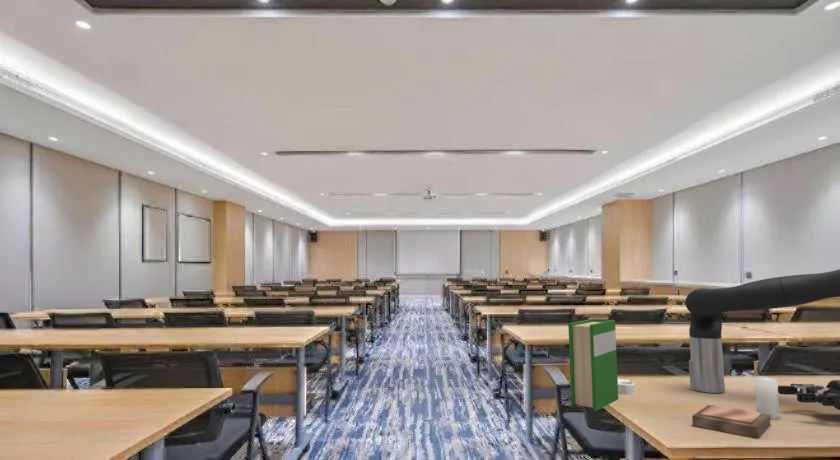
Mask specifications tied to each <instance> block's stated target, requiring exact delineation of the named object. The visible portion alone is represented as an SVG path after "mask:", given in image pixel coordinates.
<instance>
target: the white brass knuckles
mask: <svg viewBox="0 0 840 460" xmlns="http://www.w3.org/2000/svg"><path fill="white" fill-rule="evenodd" d="M617 379H618V395H620V394H621V395H635V394H636V384H635V382H633V381H632V380H630V379H628V378H627V379H623V378H617Z"/></svg>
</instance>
